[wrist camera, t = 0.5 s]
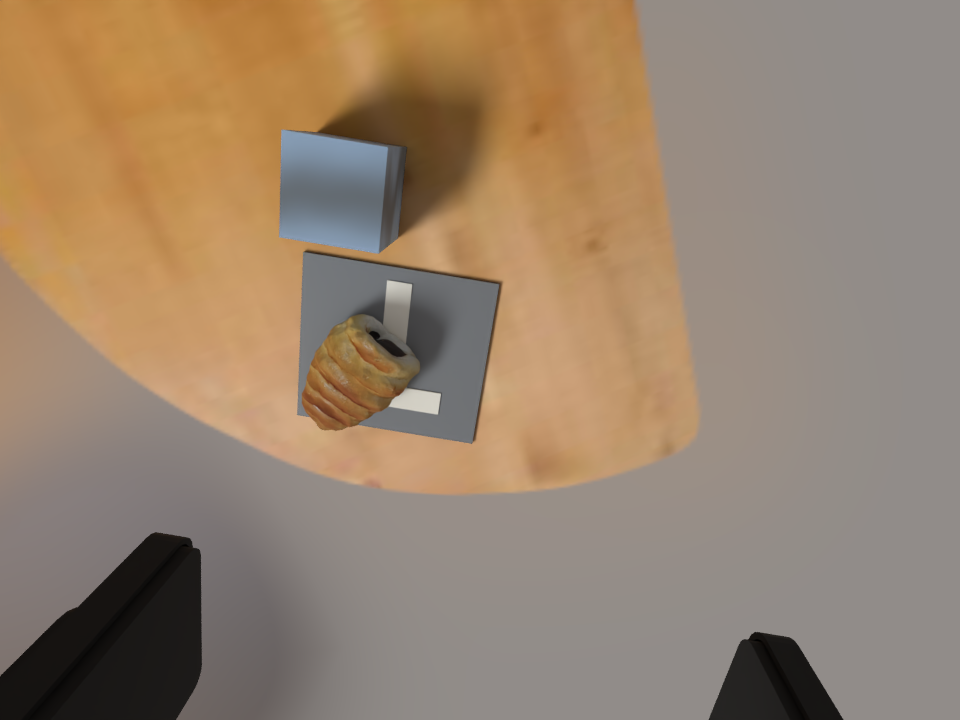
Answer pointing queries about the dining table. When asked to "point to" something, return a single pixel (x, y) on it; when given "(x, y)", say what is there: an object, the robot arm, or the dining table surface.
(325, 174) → the slate blue cube
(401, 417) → the board
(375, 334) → the pastry
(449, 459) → the dining table surface
